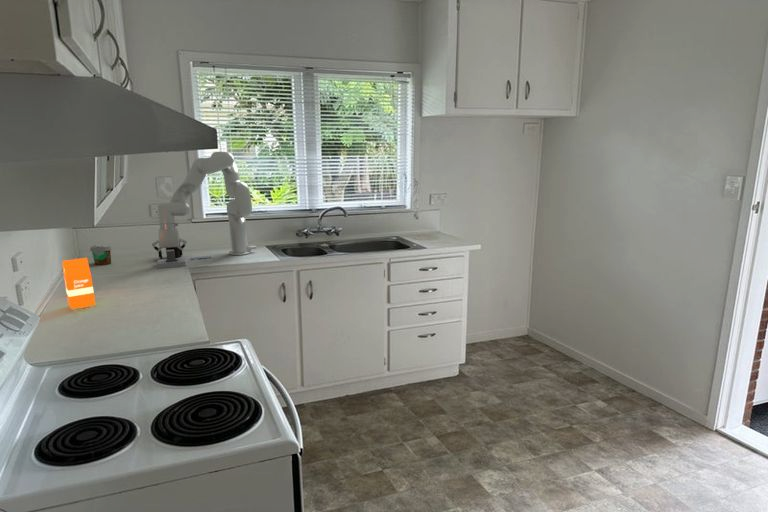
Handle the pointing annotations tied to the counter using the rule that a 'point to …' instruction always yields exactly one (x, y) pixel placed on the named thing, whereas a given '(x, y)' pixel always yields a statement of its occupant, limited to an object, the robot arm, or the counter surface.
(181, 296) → the counter surface
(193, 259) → the phone
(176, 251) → the coffee mug
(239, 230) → the robot arm
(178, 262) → the outlet plate
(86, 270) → the orange juice
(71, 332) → the counter surface
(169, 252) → the charger
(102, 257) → the food container
